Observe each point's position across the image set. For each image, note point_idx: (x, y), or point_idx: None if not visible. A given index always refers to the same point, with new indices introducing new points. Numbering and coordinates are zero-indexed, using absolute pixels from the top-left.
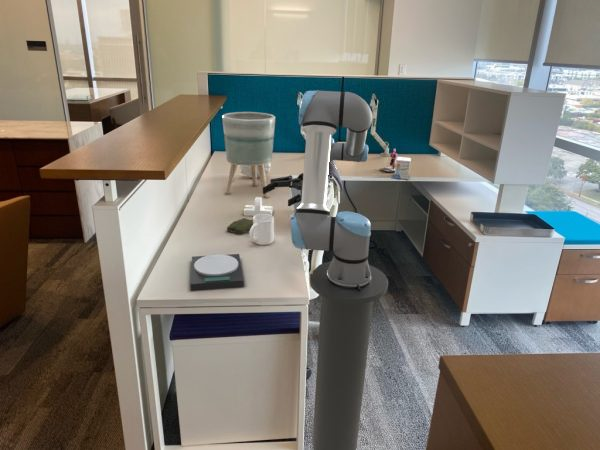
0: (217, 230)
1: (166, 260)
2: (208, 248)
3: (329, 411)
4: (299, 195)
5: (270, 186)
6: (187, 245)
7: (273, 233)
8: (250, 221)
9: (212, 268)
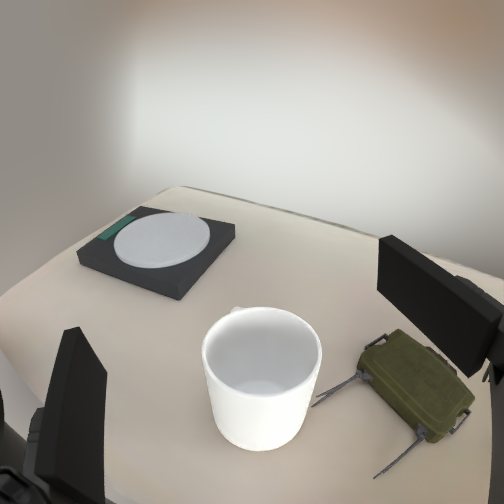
0: (409, 321)
1: (270, 216)
2: (290, 273)
3: None
4: (40, 461)
5: (434, 293)
6: (327, 250)
7: (223, 424)
8: (431, 408)
9: (149, 226)
